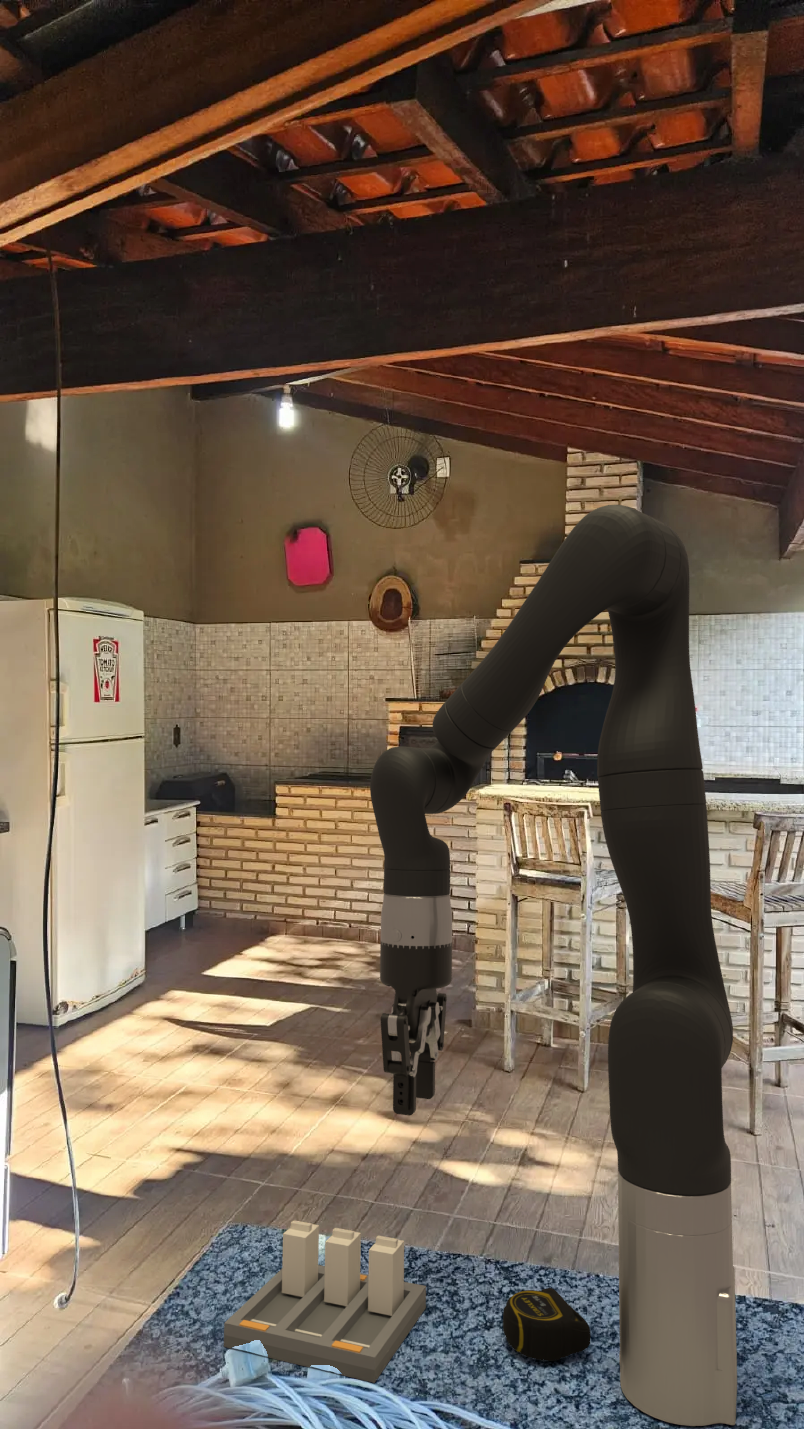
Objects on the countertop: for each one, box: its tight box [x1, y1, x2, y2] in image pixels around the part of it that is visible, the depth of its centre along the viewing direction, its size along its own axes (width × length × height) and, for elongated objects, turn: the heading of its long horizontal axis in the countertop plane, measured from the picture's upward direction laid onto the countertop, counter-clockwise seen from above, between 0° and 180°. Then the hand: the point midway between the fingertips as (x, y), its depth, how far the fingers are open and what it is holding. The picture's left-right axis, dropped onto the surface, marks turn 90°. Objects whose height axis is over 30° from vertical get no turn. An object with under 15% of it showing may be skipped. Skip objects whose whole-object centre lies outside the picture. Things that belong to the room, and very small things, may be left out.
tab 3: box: [281, 1220, 320, 1297], centre depth 93 cm, size 2×3×6 cm
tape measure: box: [502, 1287, 592, 1362], centre depth 86 cm, size 7×7×4 cm
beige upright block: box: [324, 1227, 362, 1306], centre depth 92 cm, size 2×3×6 cm
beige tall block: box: [368, 1235, 405, 1316], centre depth 90 cm, size 2×3×6 cm
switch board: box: [223, 1264, 427, 1384], centre depth 88 cm, size 14×13×2 cm
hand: (414, 1104), depth 98 cm, fingers open, 5 cm apart
